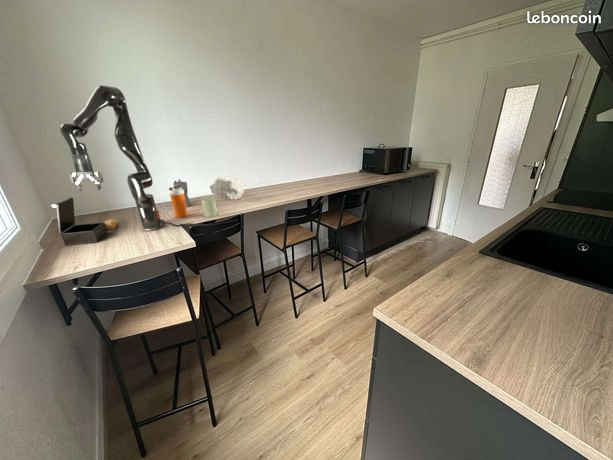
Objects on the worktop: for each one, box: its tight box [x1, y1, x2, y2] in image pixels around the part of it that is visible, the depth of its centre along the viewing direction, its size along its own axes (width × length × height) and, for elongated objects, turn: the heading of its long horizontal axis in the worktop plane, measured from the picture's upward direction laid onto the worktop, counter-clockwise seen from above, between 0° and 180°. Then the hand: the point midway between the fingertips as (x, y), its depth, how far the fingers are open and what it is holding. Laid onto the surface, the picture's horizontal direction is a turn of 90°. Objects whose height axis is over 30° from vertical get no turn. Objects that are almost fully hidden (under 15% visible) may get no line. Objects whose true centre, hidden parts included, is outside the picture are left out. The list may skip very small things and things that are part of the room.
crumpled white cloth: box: [209, 175, 245, 201], centre depth 204 cm, size 18×18×25 cm
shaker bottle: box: [168, 186, 188, 219], centre depth 166 cm, size 9×9×20 cm
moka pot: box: [172, 179, 191, 208], centre depth 187 cm, size 10×15×20 cm, turn 58°
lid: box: [51, 197, 76, 234], centre depth 130 cm, size 15×13×5 cm
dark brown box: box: [60, 221, 109, 247], centre depth 136 cm, size 15×13×7 cm
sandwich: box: [104, 219, 118, 230], centre depth 151 cm, size 5×6×4 cm
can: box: [200, 196, 218, 218], centre depth 170 cm, size 9×9×12 cm
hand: (90, 190), depth 147 cm, fingers open, 8 cm apart
